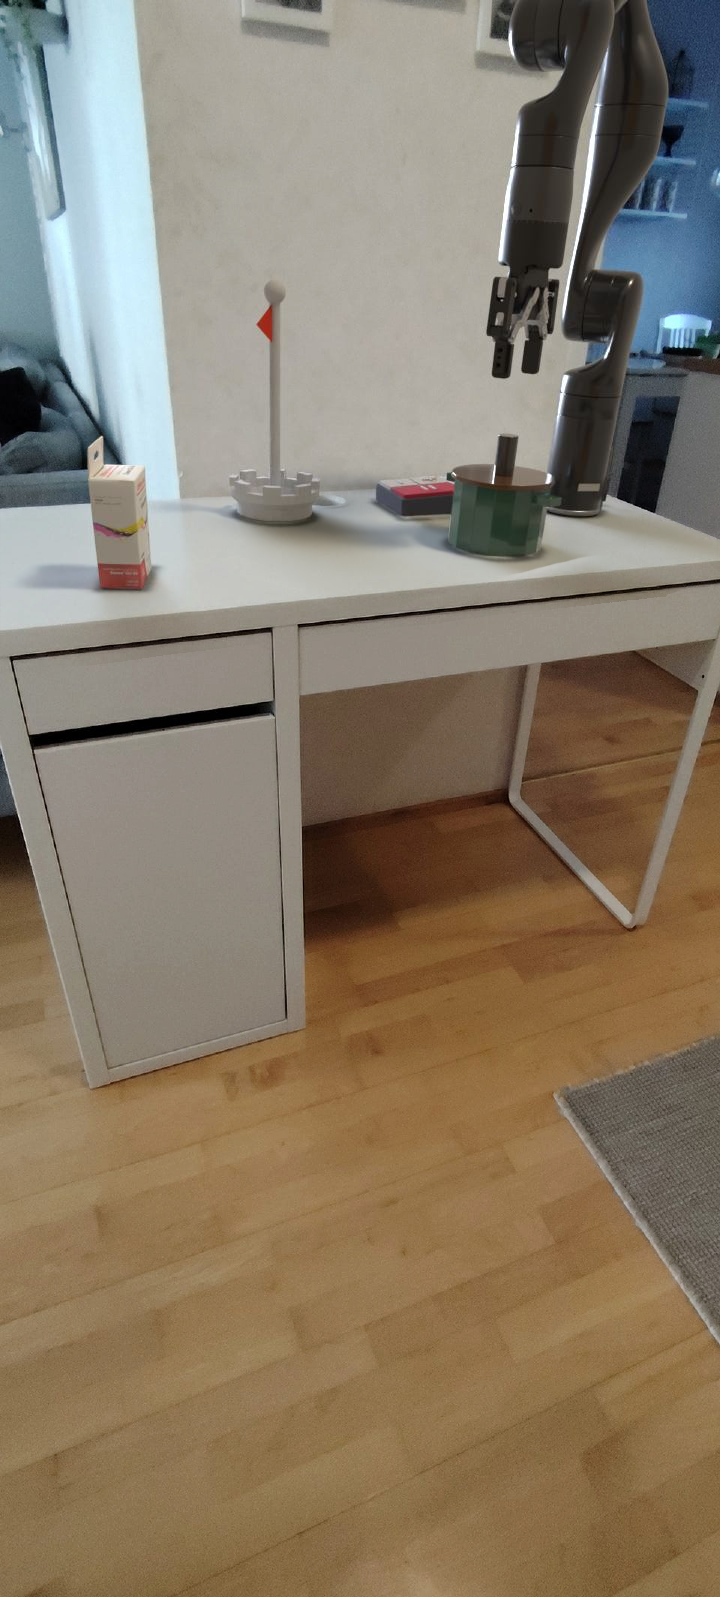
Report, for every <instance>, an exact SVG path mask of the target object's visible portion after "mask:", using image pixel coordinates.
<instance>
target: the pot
mask: <svg viewBox="0 0 720 1597" xmlns="http://www.w3.org/2000/svg"><path fill="white" fill-rule="evenodd" d="M451 474H452V471H450V472H446V476H447V477H446V480H448V481H451V482H454V485H453V495H452V505H451V514H449V523H448V524H449V525H448V533H447V534H448V535H447V540H448V544H450V545H451V546H453V547H454V548H455V549H456V548H457V549H458V550H461V551H465V552H468V553H472V554H478V555H482V556H490V557H505V558H509V557H510V558H511V557H525V556H530V555H533V554H537V553H538V552H539V551H541V549H542V544H543V537H544V531H545V525H546V519H547V514H548V511H547V507H554V506H559V505H560V504H561V497H558V496H554V495H550V489H551V487H550V488H546V489H541V490H529V491H516V490H500V489H491V488H484V487H478V486H473V485H469V484H466V483H462V482H460V481H457V480H455V479H454V478H453V477H452V475H451Z"/></svg>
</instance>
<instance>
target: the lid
mask: <svg viewBox="0 0 720 1597" xmlns="http://www.w3.org/2000/svg"><path fill="white" fill-rule="evenodd" d="M519 437H520V436H519V435H518V434H513V433H498V436H497V442H496V450H495V458H494V463H474V464H473V463H472V464H464V465H459V466H457V467H454V468H452V469H451V472H452V474H451V475H452V477H453V478H454V479H455V480H457V481H460V482H462V483H466V484H469V485H473V486H478V487H484V488H491V489H500V490H516V491H529V490H541V489H546V488H550V487H552V486H553V485H554V484H555V478H554V477H553V476H552V475H550V474H548V473H547V472H545V471H542V470H540V469H539V470H538V469H535V468H531V467H530V468H529V467H525V466H518V465H516V458H517V451H518V445H519Z"/></svg>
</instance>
